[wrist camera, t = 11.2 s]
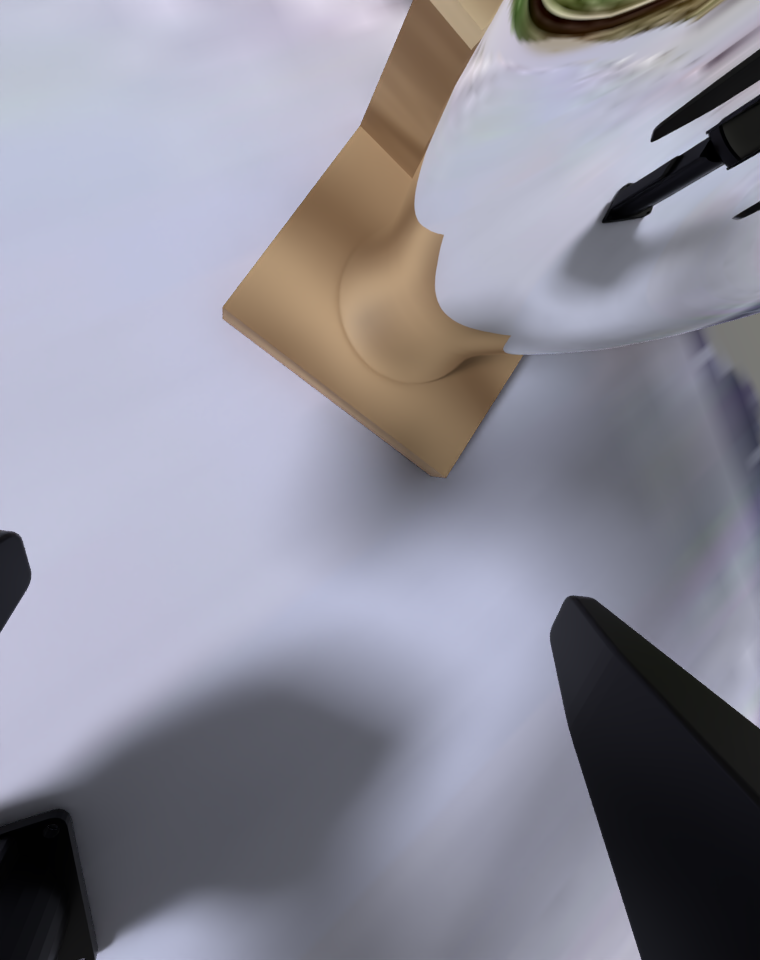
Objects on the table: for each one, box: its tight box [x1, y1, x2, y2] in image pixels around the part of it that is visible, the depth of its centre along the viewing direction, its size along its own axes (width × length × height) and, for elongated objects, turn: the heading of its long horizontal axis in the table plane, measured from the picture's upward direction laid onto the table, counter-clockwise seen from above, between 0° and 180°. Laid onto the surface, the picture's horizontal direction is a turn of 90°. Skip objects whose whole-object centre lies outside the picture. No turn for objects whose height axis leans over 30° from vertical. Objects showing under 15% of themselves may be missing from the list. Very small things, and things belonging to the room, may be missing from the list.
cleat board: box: [223, 0, 523, 478], centre depth 16 cm, size 10×11×8 cm
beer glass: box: [339, 0, 760, 384], centre depth 11 cm, size 7×7×15 cm
